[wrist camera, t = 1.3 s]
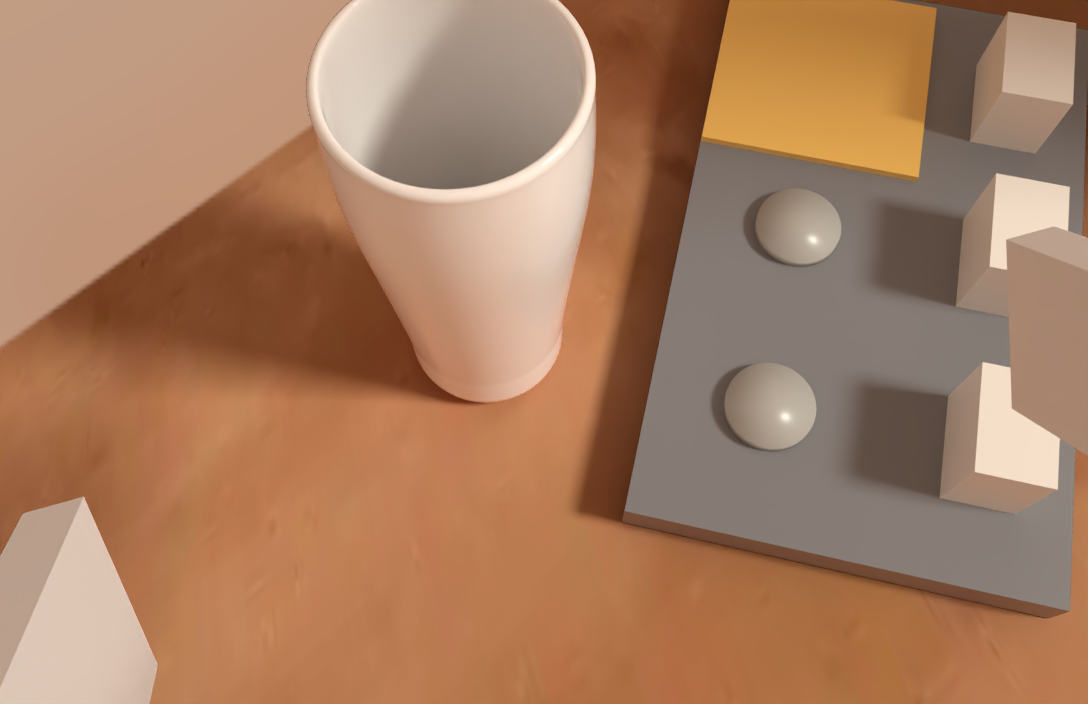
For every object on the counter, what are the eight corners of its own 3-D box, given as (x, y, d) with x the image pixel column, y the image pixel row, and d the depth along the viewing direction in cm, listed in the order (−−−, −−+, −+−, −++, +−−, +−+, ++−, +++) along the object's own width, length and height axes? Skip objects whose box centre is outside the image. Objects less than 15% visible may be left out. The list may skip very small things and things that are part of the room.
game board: (1071, 55, 42) (1128, -26, 38) (1048, 618, 33) (1119, 594, 29) (730, -5, 43) (749, -89, 39) (621, 522, 34) (631, 486, 30)
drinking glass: (382, 274, 38) (285, -17, 24) (560, 241, 39) (565, -63, 25) (410, 445, 35) (319, 228, 22) (601, 407, 36) (631, 171, 22)
